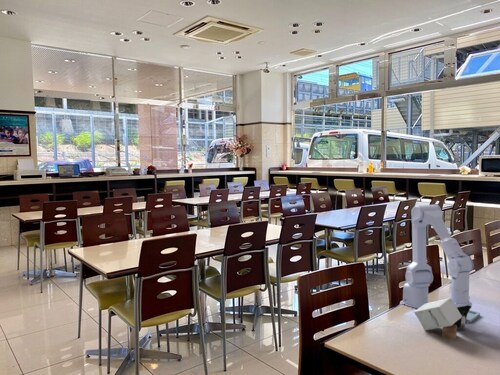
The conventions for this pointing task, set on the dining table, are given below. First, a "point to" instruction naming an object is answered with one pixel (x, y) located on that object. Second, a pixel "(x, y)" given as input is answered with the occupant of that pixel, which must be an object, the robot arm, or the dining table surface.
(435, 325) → the supplement box
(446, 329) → the walnut block
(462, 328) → the silver cylindrical canister
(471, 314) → the tray
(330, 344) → the dining table surface
